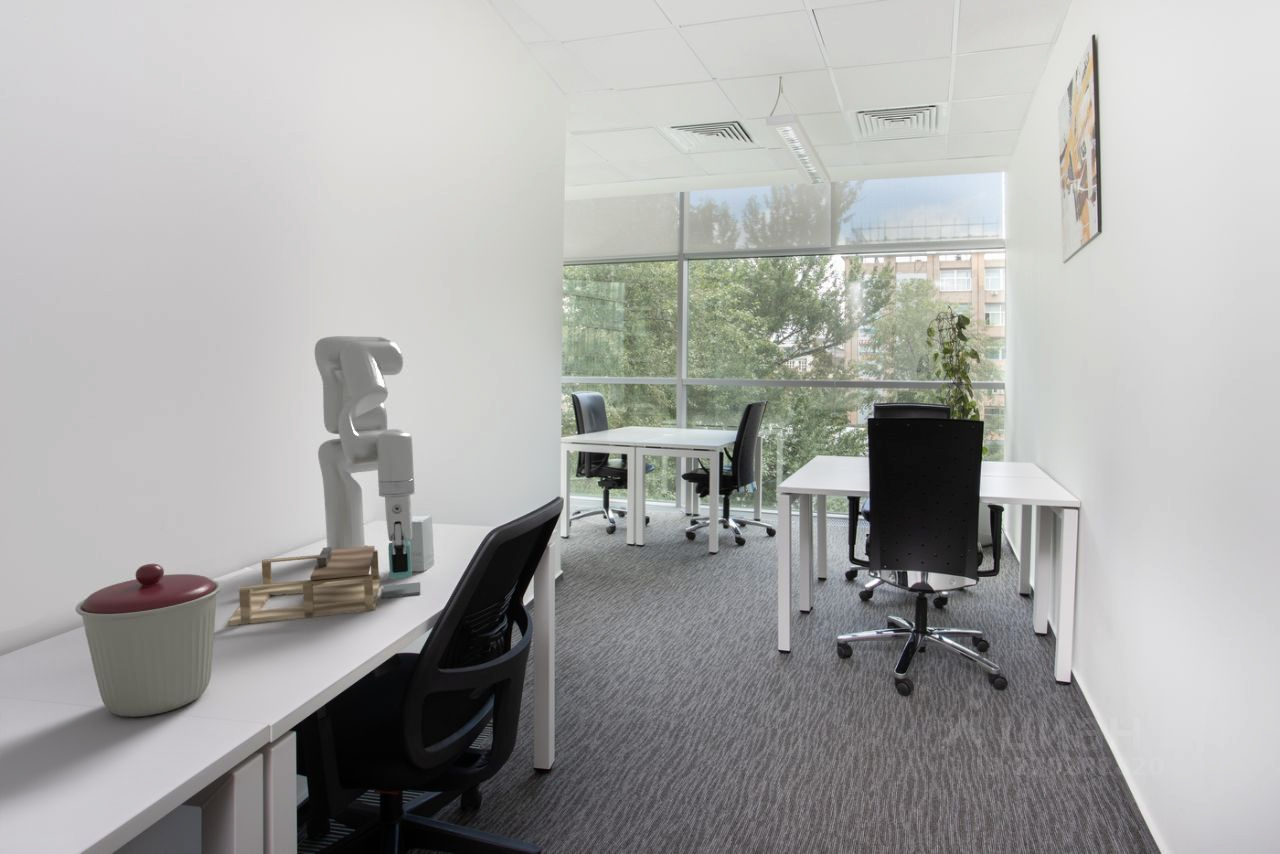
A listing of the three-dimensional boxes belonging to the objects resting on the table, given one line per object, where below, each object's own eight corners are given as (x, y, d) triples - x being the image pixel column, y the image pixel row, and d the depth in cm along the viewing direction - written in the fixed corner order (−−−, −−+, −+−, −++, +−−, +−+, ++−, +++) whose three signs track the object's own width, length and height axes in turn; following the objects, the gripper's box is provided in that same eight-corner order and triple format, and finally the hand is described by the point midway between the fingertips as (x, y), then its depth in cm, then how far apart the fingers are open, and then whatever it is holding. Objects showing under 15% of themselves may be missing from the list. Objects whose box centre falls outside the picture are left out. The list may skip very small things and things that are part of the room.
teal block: (390, 573, 168) (389, 543, 168) (411, 571, 169) (410, 541, 169) (390, 578, 164) (388, 547, 163) (411, 576, 165) (409, 545, 165)
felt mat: (383, 588, 170) (383, 585, 170) (420, 584, 172) (419, 582, 172) (381, 598, 162) (381, 595, 162) (420, 594, 164) (420, 591, 164)
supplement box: (435, 564, 190) (433, 515, 189) (424, 572, 183) (421, 521, 182) (407, 564, 191) (405, 515, 190) (395, 572, 184) (392, 521, 183)
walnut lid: (324, 553, 173) (323, 541, 173) (374, 549, 176) (374, 537, 176) (310, 580, 150) (309, 566, 150) (368, 574, 153) (367, 561, 153)
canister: (54, 719, 107) (42, 575, 106) (173, 671, 124) (163, 546, 122) (142, 739, 101) (130, 586, 99) (254, 685, 118) (246, 554, 116)
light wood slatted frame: (254, 591, 169) (252, 560, 169) (380, 579, 177) (378, 549, 176) (229, 625, 146) (227, 589, 146) (375, 610, 154) (373, 575, 154)
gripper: (414, 492, 158) (418, 576, 159) (414, 481, 174) (418, 558, 176) (376, 494, 156) (381, 580, 157) (380, 483, 172) (384, 561, 173)
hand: (400, 568), depth 166 cm, fingers closed on teal block, 4 cm apart
